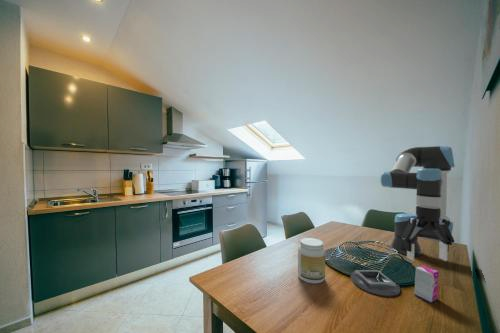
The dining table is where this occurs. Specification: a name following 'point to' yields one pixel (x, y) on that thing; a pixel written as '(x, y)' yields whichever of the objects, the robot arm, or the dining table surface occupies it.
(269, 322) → the dining table surface
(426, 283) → the supplement box
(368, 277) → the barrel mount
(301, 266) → the supplement tub
